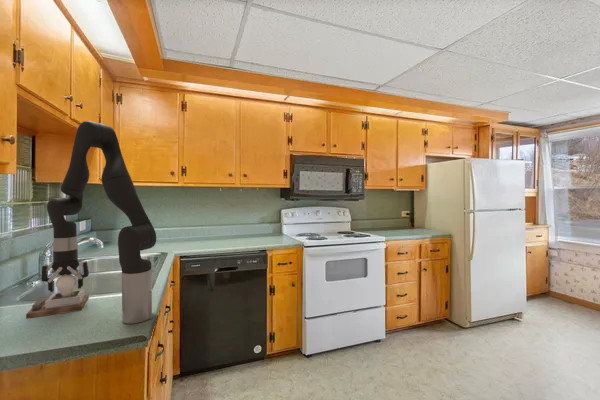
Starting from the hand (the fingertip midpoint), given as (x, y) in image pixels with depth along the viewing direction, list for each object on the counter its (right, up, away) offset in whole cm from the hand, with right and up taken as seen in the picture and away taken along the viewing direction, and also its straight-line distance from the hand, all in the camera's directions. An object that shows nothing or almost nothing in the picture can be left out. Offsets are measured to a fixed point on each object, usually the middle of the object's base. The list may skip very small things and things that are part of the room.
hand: (66, 289), depth 113 cm
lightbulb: (0, -5, 0) cm, 5 cm away
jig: (-2, -7, -1) cm, 7 cm away
